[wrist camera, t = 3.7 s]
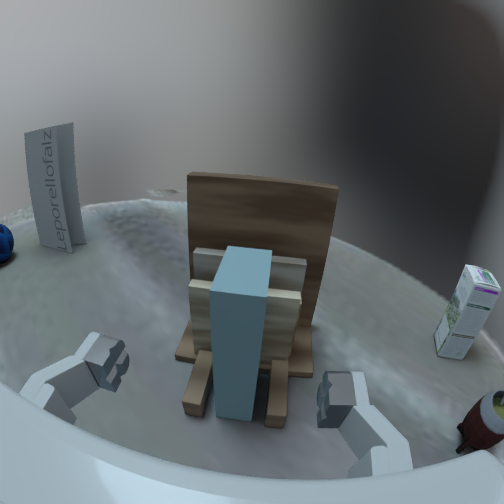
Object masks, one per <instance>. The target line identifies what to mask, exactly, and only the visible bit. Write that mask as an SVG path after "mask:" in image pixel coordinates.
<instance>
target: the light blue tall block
mask: <svg viewBox="0 0 504 504" xmlns="http://www.w3.org/2000/svg"><path fill="white" fill-rule="evenodd" d="M271 258H272V250H263V249H254V248H244V247H235V246H228V247H227V249H226V252H225V254H224V256H223V259H222V261H221V263H220V266H219V268H218V271H217V273H216V275H215V278H214V280H213V283H212V285H211V288H210V290H209V294H210V323H211V346H212V364H213V381H214V396H215V409H216V417H222V418H228V419H235V420H243V421H251V420H252V413H253V406H254V399H255V391H256V384H257V376H258V368H259V360H260V352H261V344H262V336H263V328H264V320H265V311H266V303H267V294H268V285H269V276H270V267H271Z"/></svg>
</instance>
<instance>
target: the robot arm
mask: <svg viewBox="0 0 504 504" xmlns="http://www.w3.org/2000/svg"><path fill="white" fill-rule="evenodd" d="M124 348H125V344H124V342H123V341H122V340H119V339H116V338H112V337H109V336H106V335H103V334H99V333H96V332H91V333H90V334H89V335H88V337H87V338H86V339H85V341H84V342H83V343H82V345H81V346H80V348H79V349H78V350H77V352H76V353H75V355H74V356H69V357H67V358H65V359H62V360H60V361H58V362H56V363H54V364H52V365H50V366H48V367H46V368H44V369H42V370H40V371H38V372H36V373H34V374H32V375H31V377H30V378H29V380H28V381H27V382H26V384H25V385H24V387H23V388H22V390H21V391H20V393H19V394H18V393H17V392H15V391H14V390H12V389H11V388H10V387H8V386H7V385H5V384H4V383H3V382H1V381H0V504H504V464H503V463H502V462H501V461H500V460H499V459H497V458H496V457H495V456H493V455H492V454H491V453H489V452H488V451H486V450H478V451H475V452H472V453H470V454H467V455H464V456H461V457H458V458H455V459H451V460H448V461H444V462H441V463H437V464H433V465H429V466H425V467H421V468H416V469H413V466H412V460H411V454H410V448H409V443H408V441H407V440H406V439H405V438H404V437H403V436H402V435H401V434H400V433H399V432H398V430H397V429H396V428H395V427H394V426H393V425H392V424H391V423H390V422H389V421H388V420H387V419H386V418H385V417H384V416H383V415H382V414H381V413H380V412H379V411H378V409H377V408H376V407H375V406H374V405H370V402H369V396H368V391H367V386H366V381H365V376H364V373H363V372H350V371H325V372H324V375H323V382H321V383H320V385H319V388H318V392H317V406H318V407H319V408H320V409H319V411H318V413H317V425H318V428H338V430H339V432H340V433H341V435H342V436H343V438H344V439H345V441H346V442H347V443H348V445H349V446H350V448H351V449H352V451H353V452H354V454H355V455H356V456H357V458H358V459H359V461H358V462H357V463H356V464H355V465H354V466H352V467H351V468H350V469H349V470H348V478H346V479H327V480H292V479H272V478H260V477H250V476H242V475H235V474H228V473H222V472H216V471H210V470H205V469H200V468H195V467H191V466H186V465H182V464H178V463H174V462H171V461H167V460H163V459H160V458H156V457H153V456H150V455H147V454H143V453H140V452H137V451H134V450H132V449H129V448H126V447H123V446H120V445H118V444H115V443H113V442H110V441H108V440H105V439H103V438H100V437H98V436H96V435H93V434H91V433H89V432H87V431H85V430H82V429H80V428H78V427H76V426H74V423H75V421H76V416H75V415H74V413H73V412H72V411H71V410H70V409H71V408H72V407H74V406H75V405H76V404H78V403H79V402H81V401H82V400H84V399H85V398H86V397H88V396H89V395H91V394H92V393H93V392H95V391H96V390H98V389H99V387H100V388H103V389H106V390H109V391H112V392H115V393H116V391H117V389H118V387H119V385H120V383H121V377H120V376H122V375H124V374H126V372H127V370H128V367H129V356H128V353H127V352H126V351H125V350H124Z"/></svg>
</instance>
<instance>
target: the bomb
mask: <svg viewBox="0 0 504 504" xmlns="http://www.w3.org/2000/svg"><path fill="white" fill-rule="evenodd" d="M13 247H14V239H13V235H12V233H11V231H10V230H9V229H8V228H7V227H6V226H5V225H2V224H0V263H1V262H4V261H6V260H7V259H8V258H9V257H10V255H11V253H12V251H13Z"/></svg>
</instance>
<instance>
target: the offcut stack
mask: <svg viewBox="0 0 504 504" xmlns="http://www.w3.org/2000/svg"><path fill="white" fill-rule="evenodd" d="M225 252H226V250H216V249H207V248H198V247H196V249H195V250H194V252H193V264H194V279H192V280H191V282H190V284H189V285H188V290H189V303H190V314H191V325H192V335H193V345H194V354H197V355H198V352H199V350H205V351H211V352H212V346H211V323H210V294H209V290H210V288H211V285H212V283H213V280H214V278H215V275H216V273H217V271H218V268H219V266H220V263H221V261H222V259H223V256H224V254H225ZM306 267H307V263H306V259H300V258H290V257H281V256H272V258H271V267H270V276H269V285H268V294H267V303H266V311H265V320H264V328H263V336H262V344H261V352H260V360H259V364H268V365H271V363H272V360H282V361H288V356H290V355H291V351H292V347H293V342H294V338H295V333H296V329H297V324H298V320H299V315H300V310H301V306H302V297H301V293H302V288H303V283H304V278H305V272H306Z"/></svg>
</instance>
